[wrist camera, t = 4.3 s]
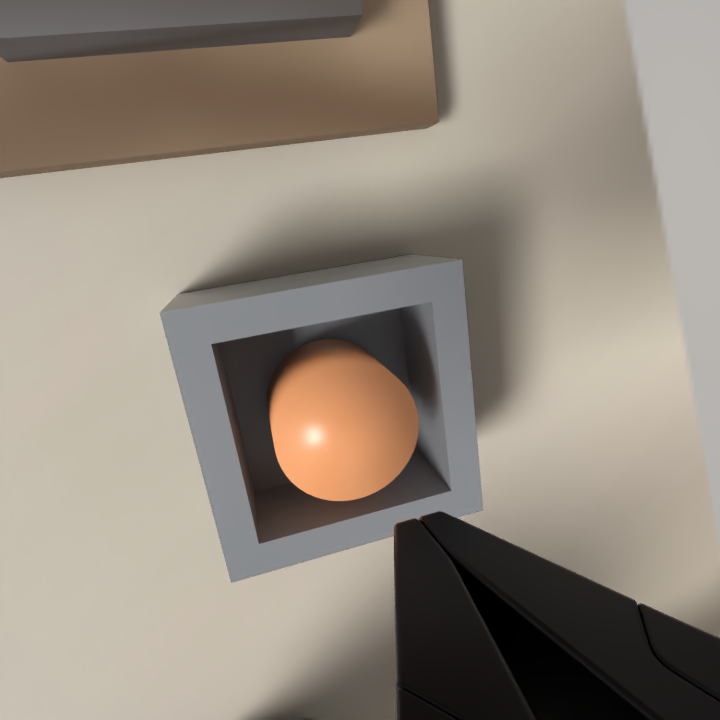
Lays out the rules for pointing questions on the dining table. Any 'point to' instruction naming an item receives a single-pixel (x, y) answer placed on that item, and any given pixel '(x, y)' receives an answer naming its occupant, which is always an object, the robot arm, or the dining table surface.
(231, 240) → the dining table surface
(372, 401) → the button
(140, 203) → the dining table surface
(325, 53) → the brown board with frame
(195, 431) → the button housing
